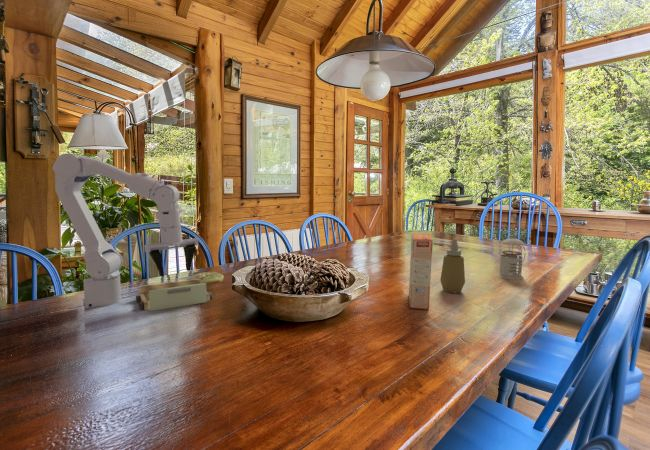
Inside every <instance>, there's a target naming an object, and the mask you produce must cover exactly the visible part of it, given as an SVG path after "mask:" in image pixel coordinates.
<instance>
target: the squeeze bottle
mask: <svg viewBox="0 0 650 450" xmlns="http://www.w3.org/2000/svg"><path fill="white" fill-rule="evenodd" d="M461 255H462V250H461V249H459V246H458V241H457V238H452V241H451V246H450V248H447V249H446V255H444V256H443V260H442V267H441V272H440V273H441V275H440V279H439V280H440V283H441V287H442V291H444V292H445V293H449V294H459V293H461V292H462V291H463V288H464V287H465V286H464V285H465V284H466V277H465V274H466V273H465V259H464V256H461Z"/></svg>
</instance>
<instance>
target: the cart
mask: <svg viewBox="0 0 650 450" xmlns="http://www.w3.org/2000/svg"><path fill="white" fill-rule="evenodd" d="M195 284H200V279H193V278H192V279H184V280H177V281H169V282H161V283H152V284H146V285H145V284H144V285H138V295H136V296H135V301H136V304H138V309H139V310H140V311H144V312H146V311H150V304H149V290H157V289H165V288H172V287H180V286H187V285H195ZM211 300H213V294H212V292H211V291H210V292H208V291H207V302H208V301H211Z"/></svg>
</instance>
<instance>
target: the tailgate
mask: <svg viewBox="0 0 650 450" xmlns="http://www.w3.org/2000/svg"><path fill="white" fill-rule="evenodd" d="M207 292H208V291H207V284H206V283H203V284H195V285H187V286H180V287H172V288H165V289H157V290H149V304H150V310H149V311H150V312H151V311H152V312H153V311H158V310H165V309H172V308H179V307H184V306H191V305H197V304H203V303H204V304H205V303H207V302H208V301H207Z"/></svg>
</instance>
